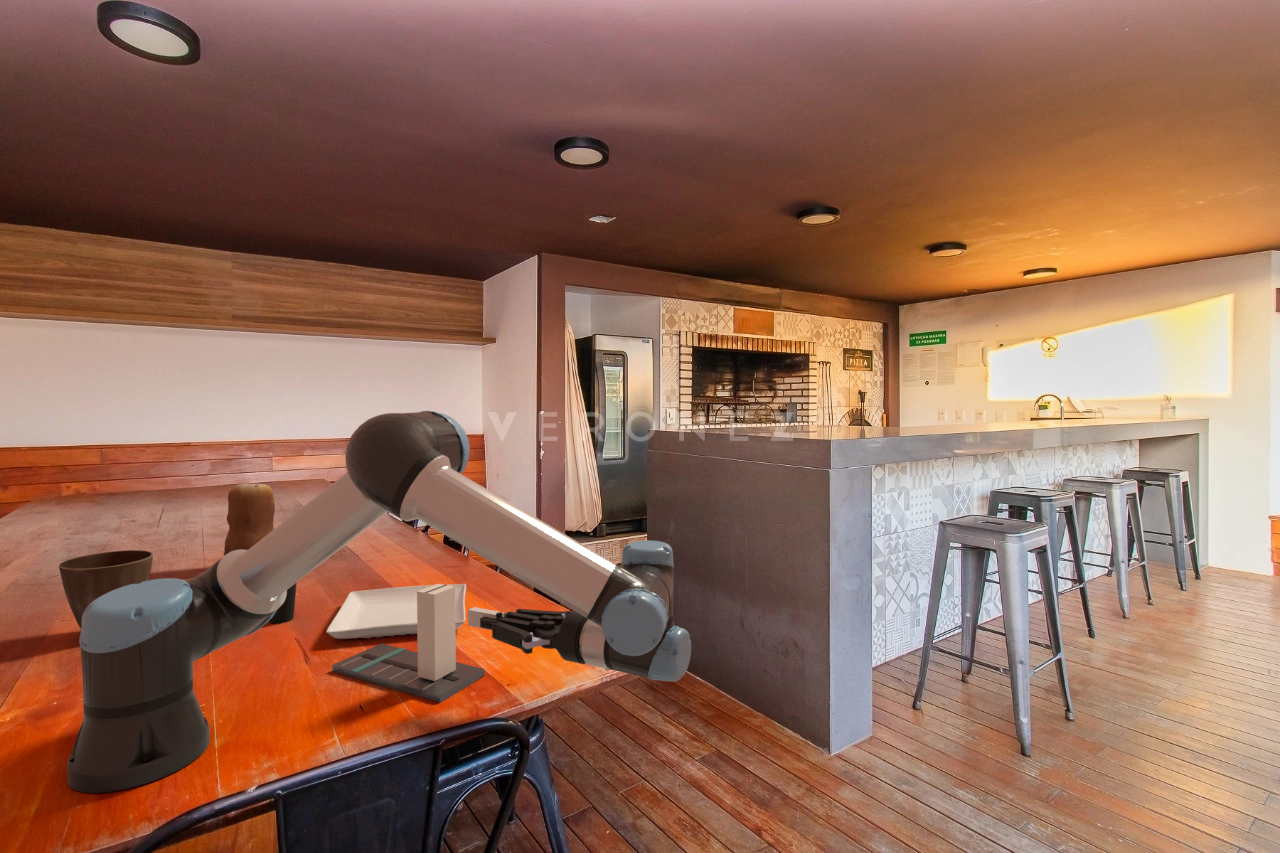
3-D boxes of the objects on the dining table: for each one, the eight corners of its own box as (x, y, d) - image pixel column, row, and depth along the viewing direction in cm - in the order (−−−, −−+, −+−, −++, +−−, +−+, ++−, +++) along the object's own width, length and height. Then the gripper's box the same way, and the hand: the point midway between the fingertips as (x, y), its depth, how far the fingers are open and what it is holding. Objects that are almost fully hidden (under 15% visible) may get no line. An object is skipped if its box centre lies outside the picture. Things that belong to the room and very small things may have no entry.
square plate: (324, 649, 122) (324, 630, 122) (350, 605, 148) (350, 589, 148) (465, 636, 129) (465, 618, 129) (466, 596, 155) (466, 581, 155)
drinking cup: (282, 627, 132) (281, 536, 132) (253, 624, 134) (251, 534, 133) (308, 615, 140) (307, 529, 139) (280, 612, 141) (278, 527, 141)
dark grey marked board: (484, 675, 110) (484, 668, 110) (440, 702, 100) (439, 694, 100) (381, 649, 121) (381, 642, 121) (332, 671, 111) (332, 664, 111)
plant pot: (172, 624, 134) (170, 552, 133) (95, 651, 119) (93, 571, 119) (122, 618, 138) (120, 548, 137) (42, 643, 123) (39, 565, 123)
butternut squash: (276, 559, 189) (274, 479, 188) (284, 568, 179) (282, 483, 178) (222, 566, 180) (220, 482, 179) (227, 576, 170) (225, 487, 169)
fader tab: (455, 669, 109) (455, 586, 108) (435, 681, 104) (434, 594, 104) (438, 665, 110) (438, 583, 110) (417, 676, 106) (416, 590, 105)
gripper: (568, 680, 88) (443, 652, 98) (611, 647, 99) (496, 625, 110) (567, 629, 87) (442, 606, 98) (611, 602, 99) (495, 584, 109)
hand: (471, 616), depth 104 cm, fingers closed
